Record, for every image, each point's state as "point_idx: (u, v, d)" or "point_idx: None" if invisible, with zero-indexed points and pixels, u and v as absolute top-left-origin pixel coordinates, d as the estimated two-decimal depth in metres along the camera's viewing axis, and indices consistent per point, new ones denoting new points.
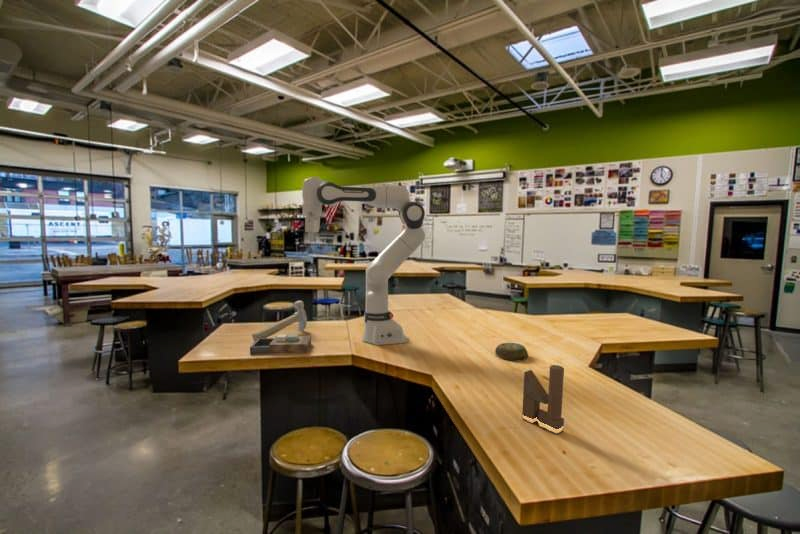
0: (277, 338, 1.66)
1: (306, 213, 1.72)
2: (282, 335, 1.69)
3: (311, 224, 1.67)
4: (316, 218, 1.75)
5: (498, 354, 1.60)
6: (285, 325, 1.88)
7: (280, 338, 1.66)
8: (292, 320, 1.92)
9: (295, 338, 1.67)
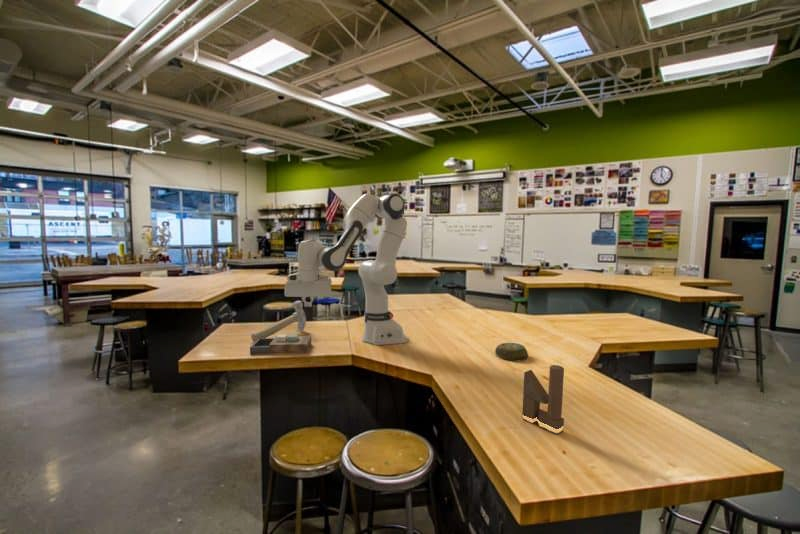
0: (277, 338, 1.66)
1: (316, 278, 1.65)
2: (282, 335, 1.69)
3: (330, 288, 1.69)
4: None
5: (498, 354, 1.60)
6: (284, 325, 1.88)
7: (280, 338, 1.66)
8: (291, 320, 1.91)
9: (295, 338, 1.67)
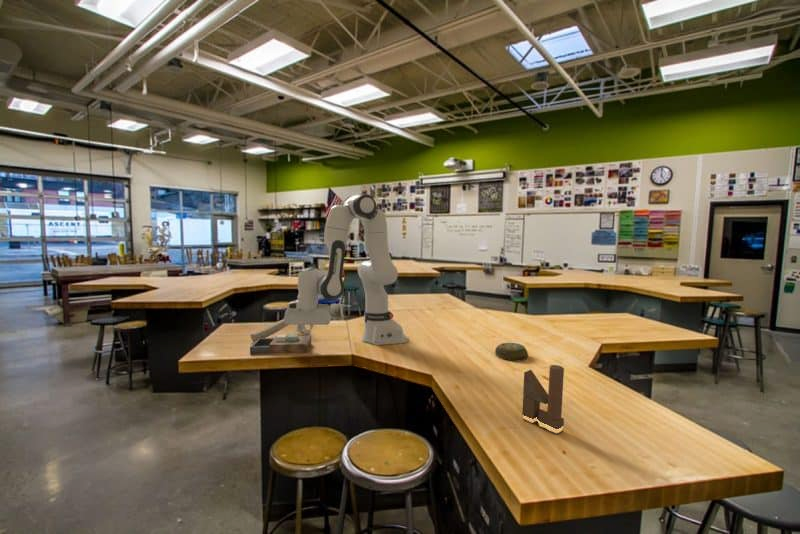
0: (277, 338, 1.66)
1: (315, 306, 1.66)
2: (282, 335, 1.69)
3: None
4: None
5: (498, 354, 1.60)
6: (284, 325, 1.88)
7: (280, 338, 1.66)
8: None
9: (295, 338, 1.67)
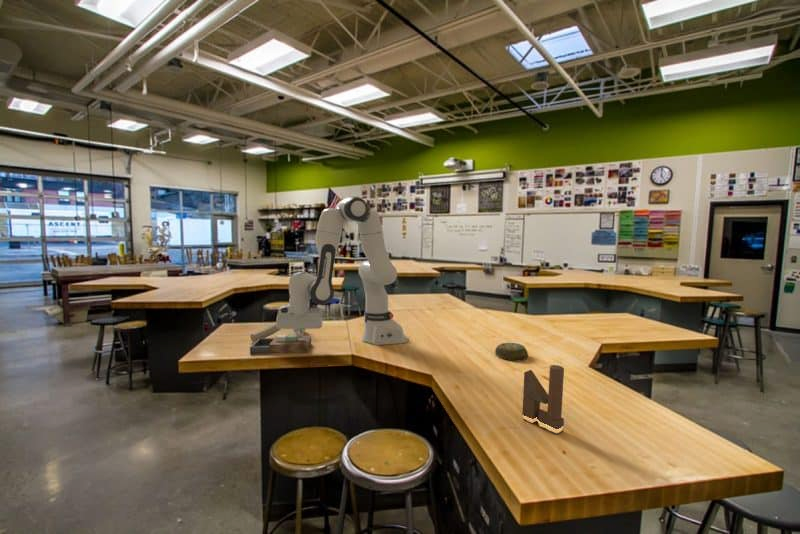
0: (277, 338, 1.66)
1: (307, 310, 1.66)
2: (282, 335, 1.69)
3: None
4: None
5: (498, 354, 1.60)
6: None
7: (280, 338, 1.66)
8: None
9: (294, 338, 1.67)
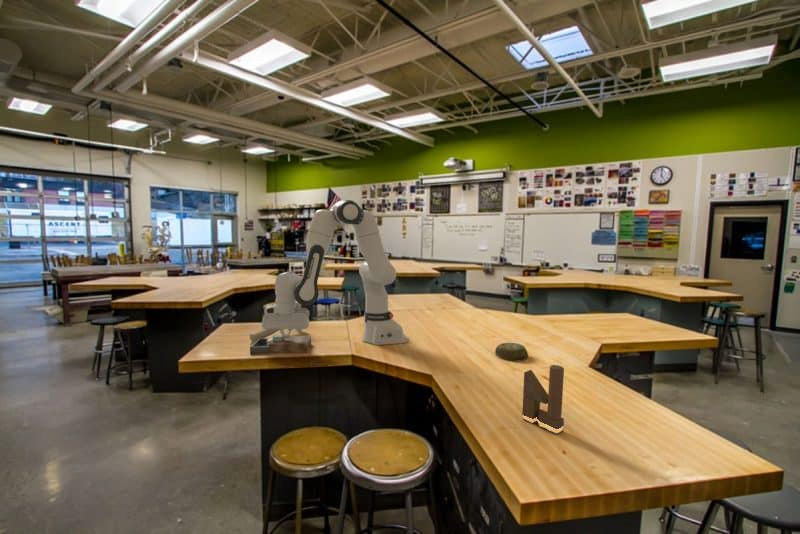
0: None
1: (293, 310, 1.66)
2: None
3: (308, 319, 1.70)
4: None
5: (498, 354, 1.60)
6: None
7: (268, 345, 1.66)
8: None
9: (280, 338, 1.67)
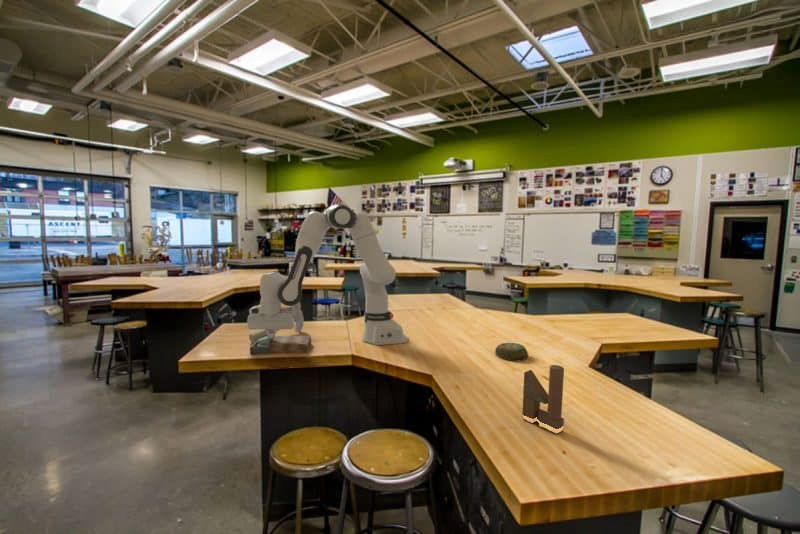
0: None
1: (278, 310, 1.65)
2: None
3: None
4: None
5: (498, 354, 1.60)
6: None
7: None
8: None
9: (265, 340, 1.66)
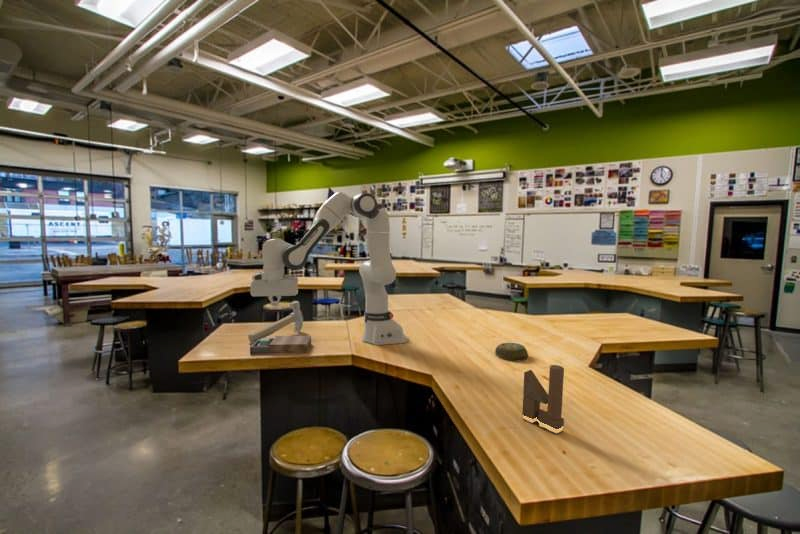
0: None
1: (281, 277, 1.64)
2: None
3: (297, 287, 1.68)
4: None
5: (498, 354, 1.60)
6: (281, 326, 1.87)
7: None
8: (288, 321, 1.90)
9: (267, 342, 1.66)
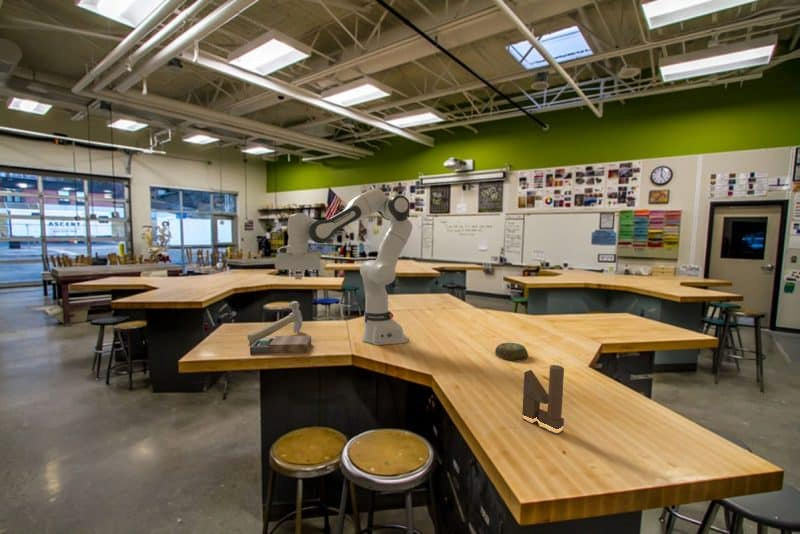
0: None
1: (306, 250, 1.68)
2: None
3: (320, 261, 1.72)
4: None
5: (498, 354, 1.60)
6: (280, 326, 1.87)
7: None
8: (287, 321, 1.90)
9: (267, 342, 1.66)
